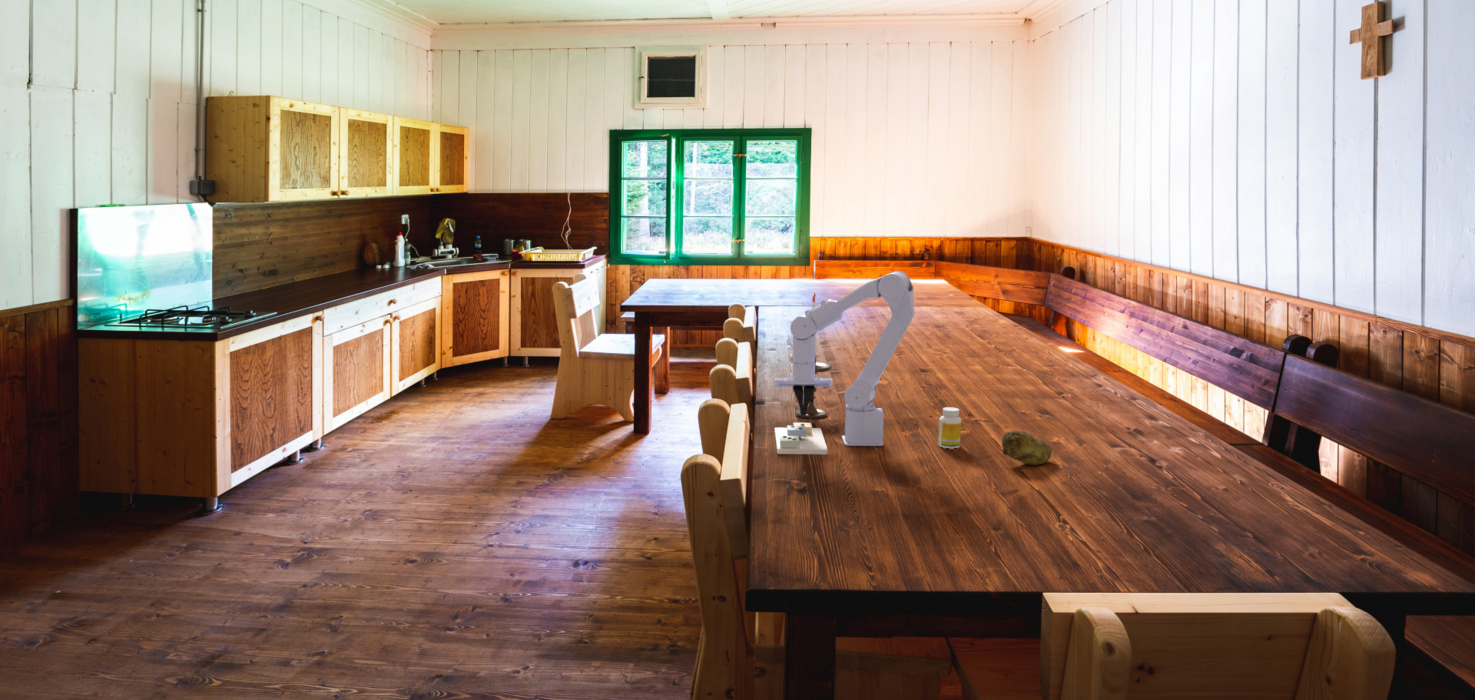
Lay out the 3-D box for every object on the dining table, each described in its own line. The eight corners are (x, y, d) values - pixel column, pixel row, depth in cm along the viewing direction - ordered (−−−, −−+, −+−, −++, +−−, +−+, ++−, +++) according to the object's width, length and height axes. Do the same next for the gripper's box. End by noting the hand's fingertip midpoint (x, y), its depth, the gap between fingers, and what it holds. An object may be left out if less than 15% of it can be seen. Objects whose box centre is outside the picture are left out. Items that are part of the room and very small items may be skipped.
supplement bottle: (933, 444, 223) (935, 407, 221) (952, 442, 225) (954, 405, 223) (945, 450, 218) (947, 412, 216) (964, 448, 220) (966, 410, 218)
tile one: (810, 429, 232) (810, 422, 231) (811, 433, 227) (811, 426, 227) (793, 428, 232) (793, 421, 231) (794, 433, 227) (794, 426, 227)
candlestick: (832, 419, 247) (835, 294, 241) (793, 419, 247) (795, 294, 241) (828, 410, 258) (831, 290, 252) (791, 410, 258) (793, 289, 252)
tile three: (798, 442, 219) (798, 435, 218) (799, 447, 214) (799, 440, 214) (779, 442, 219) (779, 435, 219) (780, 447, 214) (780, 439, 214)
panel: (820, 432, 234) (820, 424, 233) (827, 454, 214) (827, 445, 213) (774, 432, 234) (774, 423, 233) (777, 453, 214) (777, 444, 214)
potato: (1061, 468, 204) (1063, 434, 203) (1007, 469, 203) (1009, 435, 202) (1045, 458, 212) (1048, 425, 211) (993, 459, 211) (995, 426, 210)
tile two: (804, 432, 225) (804, 424, 225) (805, 436, 221) (805, 429, 220) (786, 431, 225) (786, 424, 225) (787, 436, 221) (787, 429, 220)
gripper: (830, 359, 230) (829, 410, 232) (774, 359, 230) (774, 410, 233) (833, 364, 223) (832, 417, 226) (775, 364, 223) (775, 417, 226)
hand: (803, 414), depth 229 cm, fingers closed
